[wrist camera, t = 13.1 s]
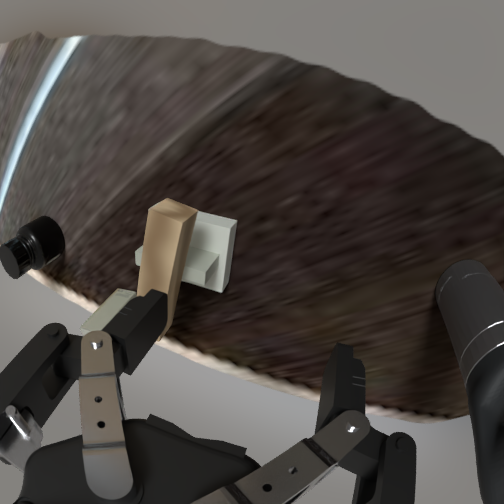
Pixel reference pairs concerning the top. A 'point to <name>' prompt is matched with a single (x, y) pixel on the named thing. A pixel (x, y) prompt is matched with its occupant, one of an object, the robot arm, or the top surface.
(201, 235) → the fulcrum
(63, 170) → the top surface
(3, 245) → the ink bottle
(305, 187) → the top surface
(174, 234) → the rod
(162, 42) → the top surface
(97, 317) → the skincare box
